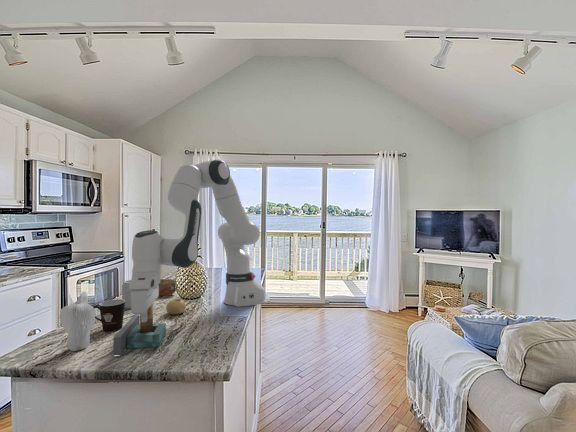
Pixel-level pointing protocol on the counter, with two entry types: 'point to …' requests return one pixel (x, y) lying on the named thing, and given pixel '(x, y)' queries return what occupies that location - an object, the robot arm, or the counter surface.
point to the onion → (176, 306)
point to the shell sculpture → (78, 322)
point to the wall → (124, 335)
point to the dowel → (148, 325)
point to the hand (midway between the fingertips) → (146, 318)
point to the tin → (166, 287)
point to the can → (126, 294)
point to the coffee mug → (111, 314)
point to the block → (146, 337)
